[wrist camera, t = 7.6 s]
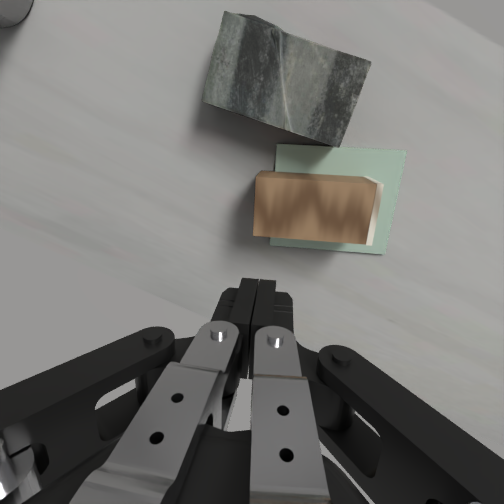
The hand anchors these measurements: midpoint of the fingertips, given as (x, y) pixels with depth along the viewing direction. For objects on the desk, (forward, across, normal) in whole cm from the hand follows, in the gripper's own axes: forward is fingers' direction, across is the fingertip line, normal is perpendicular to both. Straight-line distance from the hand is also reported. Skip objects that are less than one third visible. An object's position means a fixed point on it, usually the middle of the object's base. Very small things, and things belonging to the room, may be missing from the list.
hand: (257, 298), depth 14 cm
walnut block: (+22, +2, 0) cm, 22 cm away
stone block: (+26, 0, -12) cm, 28 cm away
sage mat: (+25, -7, 0) cm, 26 cm away
